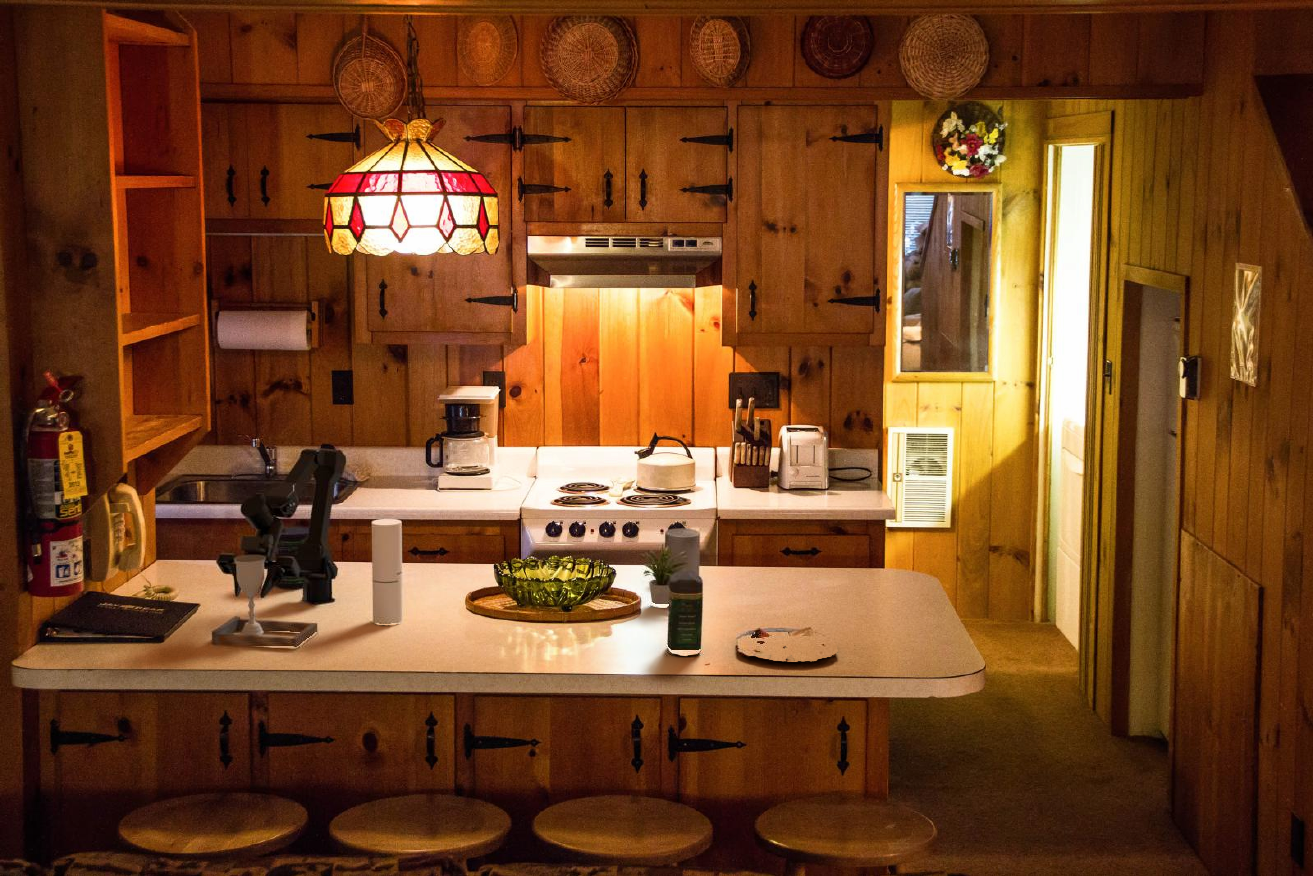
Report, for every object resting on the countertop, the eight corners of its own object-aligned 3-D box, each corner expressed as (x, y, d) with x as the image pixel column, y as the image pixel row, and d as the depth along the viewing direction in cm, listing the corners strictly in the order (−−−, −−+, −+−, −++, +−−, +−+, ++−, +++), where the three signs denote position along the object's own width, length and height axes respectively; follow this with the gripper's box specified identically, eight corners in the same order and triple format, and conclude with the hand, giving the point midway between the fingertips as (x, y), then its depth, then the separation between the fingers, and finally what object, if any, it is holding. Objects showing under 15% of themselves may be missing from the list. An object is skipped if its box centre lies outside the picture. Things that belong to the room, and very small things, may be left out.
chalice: (239, 638, 337) (237, 563, 334) (233, 630, 343) (230, 556, 340) (271, 634, 341) (269, 559, 338) (264, 627, 347) (262, 553, 344)
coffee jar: (702, 658, 334) (704, 579, 331) (668, 657, 333) (670, 578, 330) (699, 645, 343) (701, 568, 340) (666, 645, 343) (667, 568, 340)
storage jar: (320, 584, 391) (319, 529, 389) (293, 591, 383) (292, 536, 380) (294, 578, 396) (293, 524, 394) (266, 585, 388) (265, 531, 386)
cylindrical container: (408, 620, 359) (407, 520, 355) (391, 627, 352) (390, 526, 349) (384, 616, 362) (383, 517, 358) (366, 623, 355) (365, 523, 351)
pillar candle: (666, 575, 407) (667, 523, 405) (701, 577, 406) (702, 524, 403) (661, 584, 398) (662, 531, 395) (697, 586, 396) (698, 532, 394)
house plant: (657, 617, 365) (658, 554, 363) (621, 605, 375) (622, 544, 373) (698, 608, 374) (700, 546, 372) (663, 597, 385) (664, 536, 382)
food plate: (735, 633, 353) (735, 619, 352) (831, 637, 352) (832, 623, 351) (737, 669, 328) (738, 654, 327) (841, 673, 327) (842, 658, 327)
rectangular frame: (317, 633, 347) (317, 621, 346) (296, 649, 334) (296, 637, 333) (235, 628, 349) (235, 616, 349) (212, 644, 337) (211, 631, 336)
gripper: (217, 519, 343) (199, 577, 334) (294, 523, 340) (277, 581, 331) (233, 544, 352) (214, 601, 343) (307, 548, 349) (291, 605, 340)
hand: (248, 596), depth 339 cm, fingers closed on chalice, 6 cm apart
